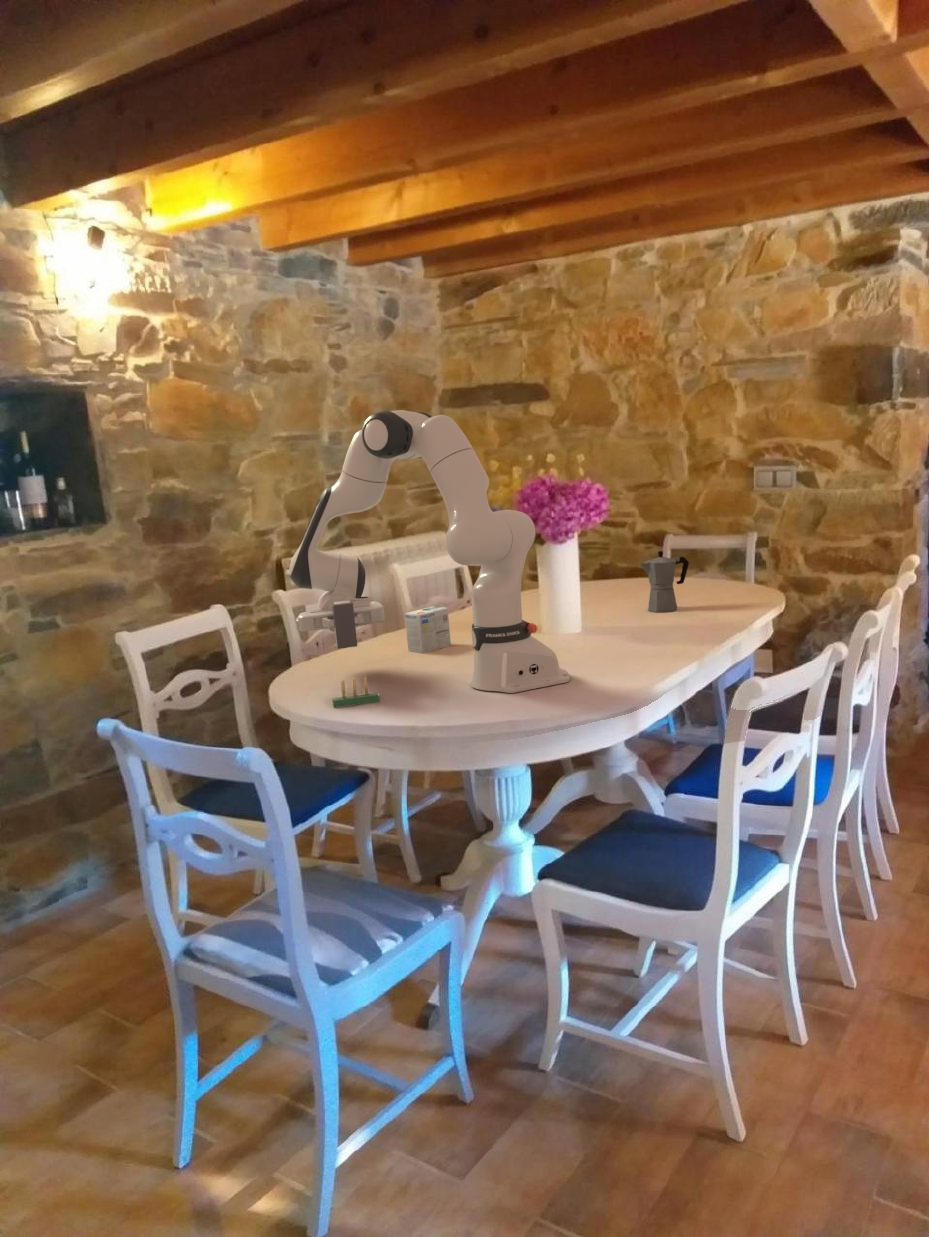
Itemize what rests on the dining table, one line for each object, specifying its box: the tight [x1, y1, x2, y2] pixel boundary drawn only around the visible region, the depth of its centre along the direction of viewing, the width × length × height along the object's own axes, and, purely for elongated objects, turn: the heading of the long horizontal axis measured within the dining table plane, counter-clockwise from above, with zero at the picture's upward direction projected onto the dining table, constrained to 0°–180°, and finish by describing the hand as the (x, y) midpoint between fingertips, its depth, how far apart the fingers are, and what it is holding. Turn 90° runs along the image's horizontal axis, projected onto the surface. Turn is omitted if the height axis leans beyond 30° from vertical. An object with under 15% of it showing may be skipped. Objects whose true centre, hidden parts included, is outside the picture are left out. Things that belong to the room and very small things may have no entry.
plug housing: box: [331, 601, 358, 650], centre depth 214 cm, size 4×4×10 cm
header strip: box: [332, 676, 380, 708], centre depth 206 cm, size 10×2×6 cm, turn 103°
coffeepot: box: [639, 550, 690, 614], centre depth 282 cm, size 15×9×18 cm, turn 100°
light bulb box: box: [404, 605, 452, 654], centre depth 255 cm, size 11×7×11 cm, turn 135°
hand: (344, 622), depth 213 cm, fingers closed on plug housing, 4 cm apart
